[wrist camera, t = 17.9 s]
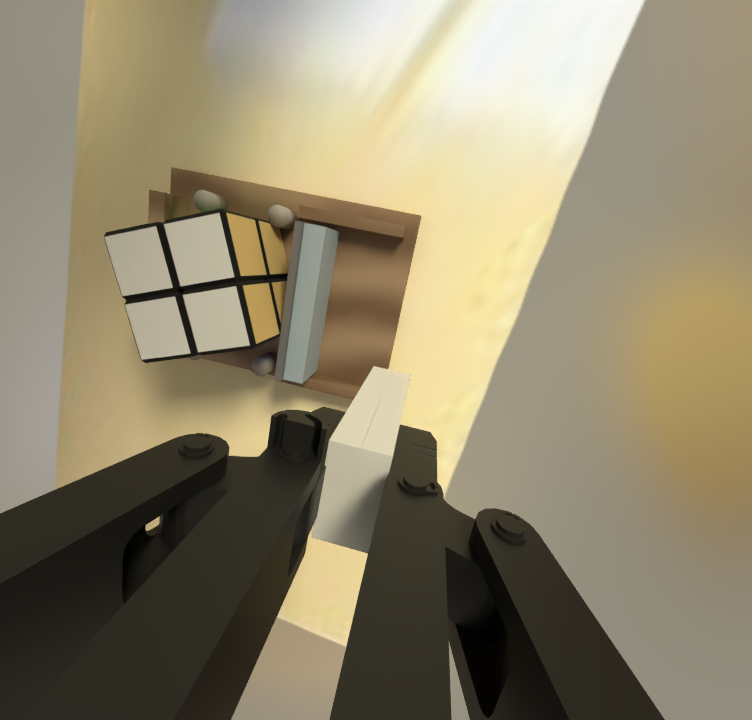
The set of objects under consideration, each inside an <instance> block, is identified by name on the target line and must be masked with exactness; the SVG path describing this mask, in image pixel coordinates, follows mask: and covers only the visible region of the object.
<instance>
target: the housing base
mask: <svg viewBox="0 0 752 720" xmlns="http://www.w3.org/2000/svg"><path fill="white" fill-rule="evenodd" d="M216 209H224V210H228V211H232V212H235V213H239V214H243V215H246V216H250V217H252V218H253V217H255V218H258V219H262V220H266V221H269V222H270V223H271V224H272V225H273V226H276V227H280V231H281V235H282V240H283V245H284V250H285V255H286V260H287V264H288V269H289V263H290V255H291V247H292V239H293V232H294V224H295V221H300V222H304V223H308V224H313V225H318V226H323V227H327V228H330V229H333V230H336V231H338V232H339V238H338V244H337V250H336V256H335V262H334V269H333V275H332V281H331V287H330V293H329V299H328V306H327V312H326V318H325V324H324V330H323V337H322V343H321V349H320V355H319V361H318V368H317V371H316V372H315V373H314V374H313V375H312V376H311V377H309V378H308V379H307V380H306V381H305V382H304V383H303V384H301V383H296V382H292V381H288V380H284V379H283V380H282V381H281V382H285V383H289V384H293V385H297V386H301V387H305V388H310V389H314V390H318V391H322V392H326V393H330V394H334V395H338V396H342V397H346V398H350V399H354V398H355V396H356V395H357V393H358V391H359V390H360V388H361V386H362V385H363V383H364V381H365V380H366V378H367V377H368V375H369V373H370V372H371V370H372V368H373V367H374V366H376V367H380V368H384V369H388V368H389V363H390V359H391V354H392V349H393V345H394V340H395V335H396V331H397V326H398V322H399V317H400V312H401V308H402V303H403V299H404V294H405V289H406V285H407V280H408V275H409V271H410V266H411V262H412V257H413V252H414V248H415V243H416V239H417V234H418V229H419V225H420V220H421V216H420V215H415V214H409V213H404V212H399V211H394V210H389V209H384V208H378V207H373V206H368V205H363V204H358V203H353V202H347V201H342V200H337V199H332V198H327V197H321V196H316V195H311V194H306V193H301V192H296V191H290V190H285V189H280V188H275V187H270V186H265V185H259V184H254V183H249V182H244V181H239V180H234V179H228V178H223V177H218V176H213V175H208V174H202V173H197V172H192V171H187V170H182V169H177V168H172V170H171V194H167V193H162V192H157V191H152V190H149V223H154V222H163V223H164V222H165V220H168V219H173V218H178V217H182V216H187V215H192V214H197V213H201V212H206V211H211V210H216ZM149 223H148V224H149ZM285 278H286V277H285ZM287 278H288V276H287ZM279 340H280V337H277V338H276V339H273V340H271V341H269V342H267V343H265V344H263V345H260V346H258V347H256V348H254V349H248V350H240V351H232V352H225V353H217V354H210V355H202V356H201V355H197V356H194V357H189V358H190V359H192V360H197V359H199V358H204V359H208V360H212V361H216V362H220V363H225V364H229V365H233V366H237V367H241V368H245V369H249V370H252V371H253V372H254V373H255V374H256V375H258V376H264V375H266V374H270V375H274V376H275V371H276V363H277V355H278V348H279ZM277 381H278V380H277Z"/></svg>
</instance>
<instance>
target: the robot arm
mask: <svg viewBox="0 0 752 720" xmlns="http://www.w3.org/2000/svg"><path fill="white" fill-rule="evenodd" d="M409 380H410V374H406V373H401V372H397V371H393V370H389V369H384V368H380V367H376V366H374V367H373V368H372V370H371V372H370V373H369V375H368V377H367V378H366V380H365V381H364V383H363V385H362V386H361V388H360V390H359V391H358V393H357V395H356V396H355V398H354V400H353V401H352V403H351V405H350V406H349V408H348V410H347V411H346V412H342V411H338V410H334V409H330V408H326V407H322V408H319V409H317V410H314V411H312V412H308V411H301V410H285V411H280V412H277V413H275V414H274V415H272V416H271V424H270V431H269V439H268V447H267V448H266V450H265V451H264V452H263V453H262V454H261V455H260V456H259V457H240V456H229V446H228V444H227V442H226V441H225V440H223V439H222V438H220V437H217V436H214V435H210V434H203V433H196V434H189V435H184V436H180V437H177V438H174V439H172V440H170V441H167V442H165V443H163V444H160V445H158V446H156V447H153V448H151V449H149V450H146V451H144V452H142V453H139V454H137V455H135V456H132V457H130V458H128V459H126V460H123V461H121V462H119V463H116V464H114V465H112V466H109V467H107V468H105V469H102V470H100V471H98V472H95V473H93V474H91V475H88V476H86V477H84V478H82V479H79V480H77V481H75V482H72V483H70V484H68V485H65V486H63V487H61V488H58V489H56V490H54V491H51V492H49V493H47V494H45V495H42V496H40V497H38V498H35V499H33V500H31V501H28V502H26V503H24V504H21V505H19V506H17V507H14V508H12V509H10V510H7V511H5V512H3V513H1V514H0V720H231V718H232V716H233V714H234V711H235V709H236V707H237V705H238V702H239V700H240V698H241V696H242V693H243V691H244V689H245V687H246V684H247V682H248V680H249V678H250V676H251V673H252V671H253V669H254V667H255V664H256V662H257V660H258V658H259V655H260V653H261V651H262V649H263V646H264V644H265V642H266V639H267V637H268V635H269V633H270V631H271V628H272V626H273V624H274V622H275V619H276V617H277V615H278V613H279V610H280V608H281V606H282V604H283V601H284V599H285V597H286V595H287V592H288V590H289V588H290V586H291V584H292V581H293V579H294V577H295V575H296V572H297V570H298V568H299V566H300V563H301V561H302V559H303V557H304V554H305V550H306V545H307V539H308V535H309V533H310V531H311V529H312V526H313V524H314V527H313V532H312V538H316V539H319V540H323V541H326V542H330V543H334V544H337V545H341V546H344V547H348V548H351V549H355V550H358V551H362V552H365V553H368V557H367V561H366V565H365V570H364V574H363V578H362V582H361V587H360V591H359V595H358V600H357V604H356V608H355V612H354V617H353V621H352V625H351V630H350V634H349V638H348V642H347V647H346V651H345V655H344V660H343V664H342V668H341V673H340V677H339V681H338V685H337V690H336V694H335V698H334V703H333V707H332V711H331V715H330V720H451V697H450V696H451V695H450V668H449V642H450V646H451V649H452V654H453V657H454V661H455V665H456V669H457V672H458V676H459V680H460V684H461V687H462V691H463V695H464V699H465V702H466V706H467V710H468V714H469V717H470V720H664V718H663V717H662V715H661V714H660V712H659V711H658V709H657V708H656V706H655V705H654V703H653V702H652V700H651V699H650V697H649V696H648V695H647V693H646V691H645V690H644V689H643V687H642V686H641V684H640V683H639V681H638V680H637V678H636V677H635V675H634V674H633V672H632V671H631V669H630V668H629V666H628V665H627V664H626V662H625V661H624V659H623V658H622V656H621V655H620V653H619V652H618V650H617V649H616V648H615V646H614V644H613V643H612V641H611V640H610V639H609V637H608V636H607V634H606V633H605V631H604V630H603V628H602V627H601V625H600V624H599V622H598V621H597V619H596V618H595V616H594V615H593V613H592V612H591V611H590V609H589V608H588V606H587V605H586V603H585V602H584V600H583V599H582V597H581V596H580V594H579V593H578V591H577V590H576V588H575V587H574V586H573V584H572V583H571V581H570V580H569V578H568V577H567V575H566V574H565V572H564V571H563V569H562V568H561V566H560V565H559V563H558V562H557V560H556V559H555V558H554V556H553V554H552V553H551V552H550V550H549V549H548V547H547V546H546V544H545V543H544V541H543V540H542V538H541V537H540V535H539V534H538V533H537V532H536V531H535V529H534V528H533V527H532V526H531V525H530V524H529V523H527V522H526V521H524V520H523V519H522V518H520V517H519V516H517V515H515V514H512V513H511V512H508V511H504V510H499V509H496V508H495V509H484V510H482V511H480V512H479V513H478V514H477V517H476V519H473V518H471V517H469V516H467V515H465V514H463V513H461V512H459V511H458V510H456V509H454V508H453V507H451V506H450V505H449V504H448V503H446V501H445V500H444V499H443V491H442V488H441V486H440V485H439V484H438V483H437V459H436V458H437V441H436V440H435V438H434V437H433V436H432V434H431V433H430V432H428V431H424V430H420V429H416V428H412V427H408V426H404V425H400V421H401V417H402V412H403V408H404V403H405V398H406V394H407V389H408V384H409ZM159 516H160V524H159V525H158V526H156V527H155V528H153V529H151V530H149V531H146V530H145V525H146V524H148V523H149V522H151V521H153V520H154V519H156V518H157V517H159ZM448 641H449V642H448Z"/></svg>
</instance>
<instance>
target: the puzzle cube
mask: <svg viewBox="0 0 752 720" xmlns="http://www.w3.org/2000/svg"><path fill="white" fill-rule="evenodd" d="M104 239H105V243H106V246H107V249H108V252H109V256H110V259H111V262H112V265H113V269H114V272H115V275H116V279H117V282H118V285H119V288H120V292H121V295H122V297H123V298H125V299H126V300H127V301H126V303H125V309H126V312H127V315H128V319H129V322H130V325H131V328H132V332H133V335H134V338H135V342H136V345H137V348H138V351H139V355H140V358H141V360H142V361H144V362H145V363H149V362H156V361H164V360H171V359H179V358H187V357H194V356H197V355H201V356H202V355H210V354H217V353H225V352H232V351H240V350H248V349H254V348H256V347H258V346H260V345H263V344H265V343H267V342H269V341H271V340H273V339H276V338H277V337H280V332H281V324H282V317H283V309H284V301H285V294H286V286H287V276H288V270H289V269H288V264H287V260H286V255H285V250H284V245H283V240H282V235H281V231H280V227H276V226H273V225H272V224H271V223H270V222H269V221H266V220H262V219H258V218H255V217H253V218H252V217H250V216H246V215H243V214H239V213H235V212H232V211H228V210H224V209H216V210H211V211H206V212H201V213H197V214H192V215H187V216H182V217H178V218H173V219H168V220H165V222H164V223H163V222H154V223H149V224H144V225H140V226H135V227H130V228H125V229H120V230H116V231H111V232H106V234H105V236H104ZM285 277H286V278H285Z"/></svg>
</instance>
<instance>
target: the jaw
mask: <svg viewBox="0 0 752 720" xmlns="http://www.w3.org/2000/svg"><path fill="white" fill-rule="evenodd" d="M338 238H339V232H338V231H336V230H333V229H330V228H327V227H323V226H318V225H313V224H308V223H304V222H300V221H295V224H294V232H293V239H292V247H291V255H290V263H289V270H288V278H287V286H286V294H285V301H284V309H283V317H282V324H281V332H280V340H279V348H278V355H277V363H276V371H275V379H274V380H278V381H282V380H283V379H284V380H288V381H292V382H296V383H301V384H303V383H304V382H305V381H306V380H307V379H308V378H309V377H311V376H312V375H313V374H314V373H315V372H316V371H317V368H318V361H319V355H320V349H321V343H322V337H323V330H324V324H325V318H326V312H327V306H328V299H329V293H330V287H331V281H332V275H333V269H334V262H335V256H336V250H337V244H338Z"/></svg>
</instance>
